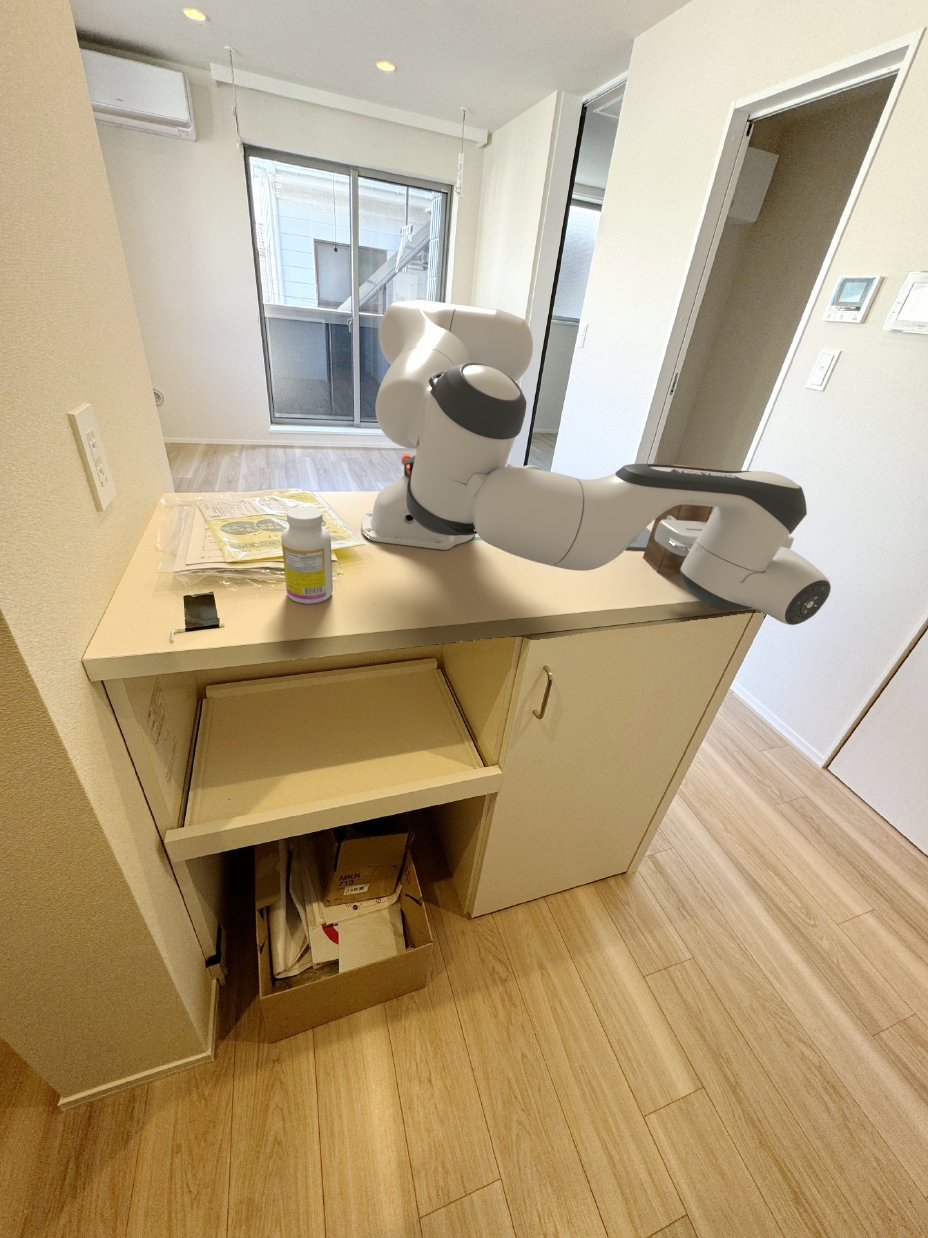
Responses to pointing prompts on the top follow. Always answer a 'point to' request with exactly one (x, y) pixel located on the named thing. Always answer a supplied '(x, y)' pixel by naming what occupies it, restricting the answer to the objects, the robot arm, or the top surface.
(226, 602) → the top surface
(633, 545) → the mat
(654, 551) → the block
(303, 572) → the supplement bottle
